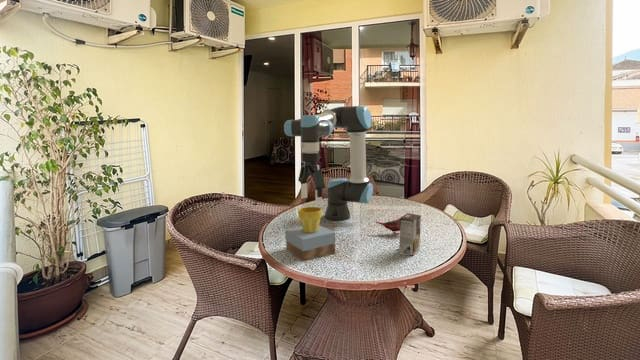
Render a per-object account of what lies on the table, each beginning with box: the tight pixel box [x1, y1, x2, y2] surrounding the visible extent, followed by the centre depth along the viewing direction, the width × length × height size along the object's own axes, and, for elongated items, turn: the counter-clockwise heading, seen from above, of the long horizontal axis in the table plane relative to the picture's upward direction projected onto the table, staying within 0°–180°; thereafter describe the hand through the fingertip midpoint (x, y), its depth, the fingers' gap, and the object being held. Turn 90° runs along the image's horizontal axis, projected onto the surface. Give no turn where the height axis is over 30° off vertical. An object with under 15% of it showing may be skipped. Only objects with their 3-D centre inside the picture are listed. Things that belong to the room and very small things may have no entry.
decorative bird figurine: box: [375, 215, 404, 235], centre depth 174 cm, size 3×18×10 cm, turn 80°
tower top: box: [284, 224, 336, 251], centre depth 152 cm, size 16×16×5 cm
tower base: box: [285, 240, 336, 262], centre depth 153 cm, size 16×16×5 cm
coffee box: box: [398, 212, 422, 256], centre depth 151 cm, size 9×6×16 cm
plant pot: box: [297, 206, 323, 233], centre depth 152 cm, size 10×10×10 cm
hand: (311, 201), depth 150 cm, fingers open, 13 cm apart
